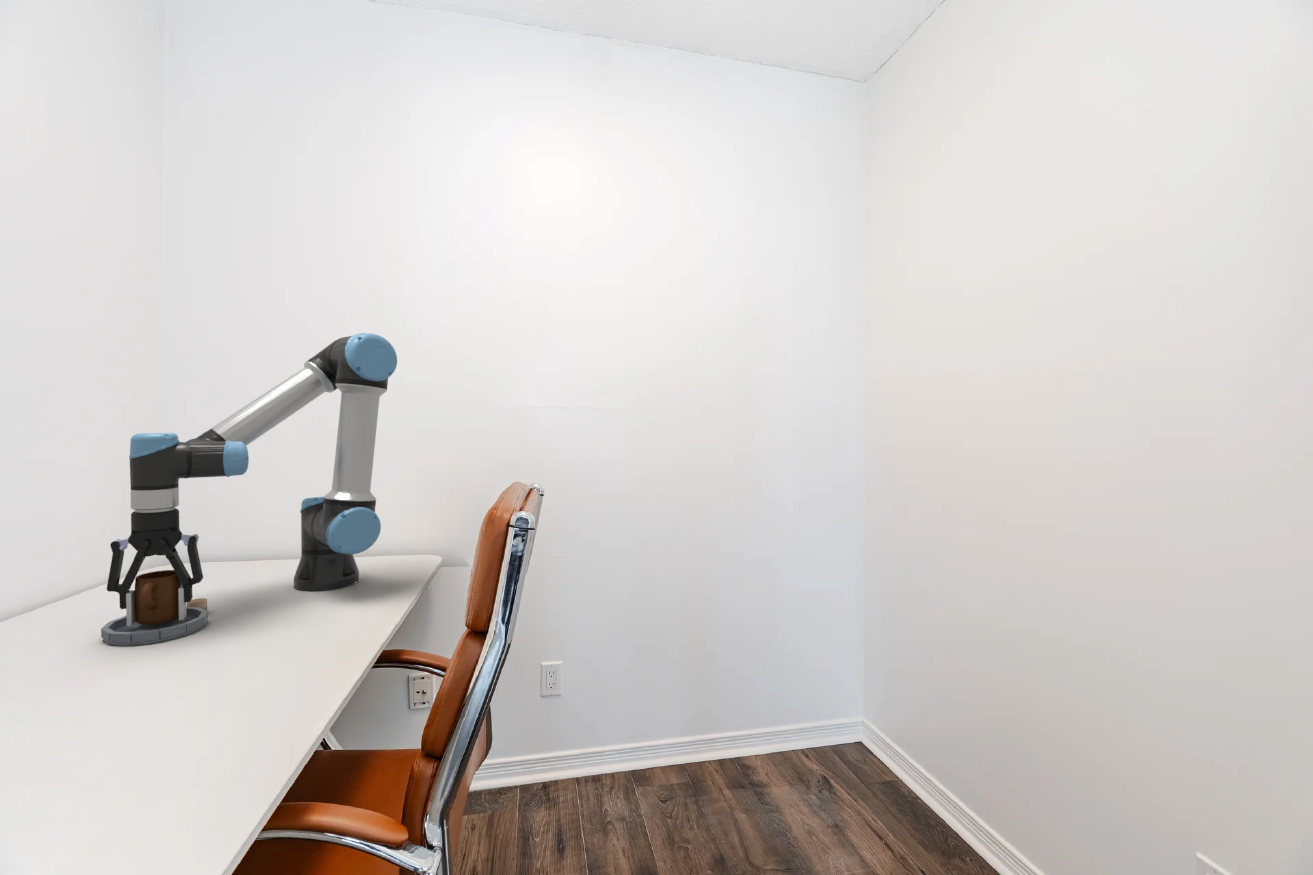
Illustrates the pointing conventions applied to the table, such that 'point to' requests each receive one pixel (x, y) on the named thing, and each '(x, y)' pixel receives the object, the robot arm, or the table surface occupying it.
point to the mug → (157, 597)
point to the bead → (198, 603)
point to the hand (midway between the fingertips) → (157, 620)
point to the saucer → (153, 629)
